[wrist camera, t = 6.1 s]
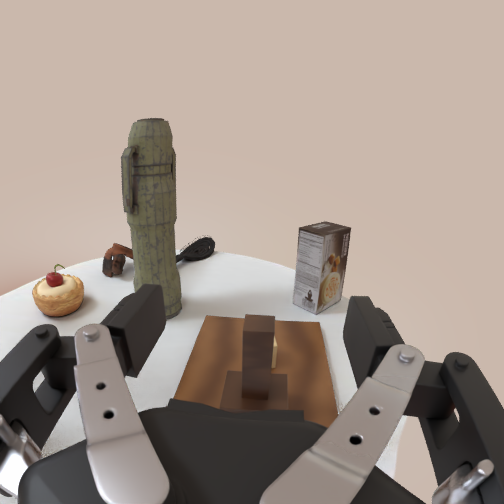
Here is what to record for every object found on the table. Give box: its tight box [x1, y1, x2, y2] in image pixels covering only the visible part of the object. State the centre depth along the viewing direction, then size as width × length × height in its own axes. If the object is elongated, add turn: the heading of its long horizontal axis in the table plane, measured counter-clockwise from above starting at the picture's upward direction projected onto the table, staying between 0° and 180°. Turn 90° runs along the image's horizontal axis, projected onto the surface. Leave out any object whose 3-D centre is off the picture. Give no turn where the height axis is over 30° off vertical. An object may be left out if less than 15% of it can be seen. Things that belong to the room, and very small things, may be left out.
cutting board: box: [173, 315, 338, 428], centre depth 38 cm, size 20×26×2 cm
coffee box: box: [293, 222, 351, 314], centre depth 57 cm, size 9×6×16 cm
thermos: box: [121, 118, 182, 319], centre depth 49 cm, size 9×12×35 cm
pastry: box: [32, 264, 84, 316], centre depth 50 cm, size 12×12×9 cm
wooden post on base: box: [219, 314, 288, 413], centre depth 28 cm, size 7×6×13 cm
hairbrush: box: [176, 237, 215, 263], centre depth 79 cm, size 8×4×25 cm
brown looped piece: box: [102, 243, 134, 277], centre depth 69 cm, size 12×10×8 cm
